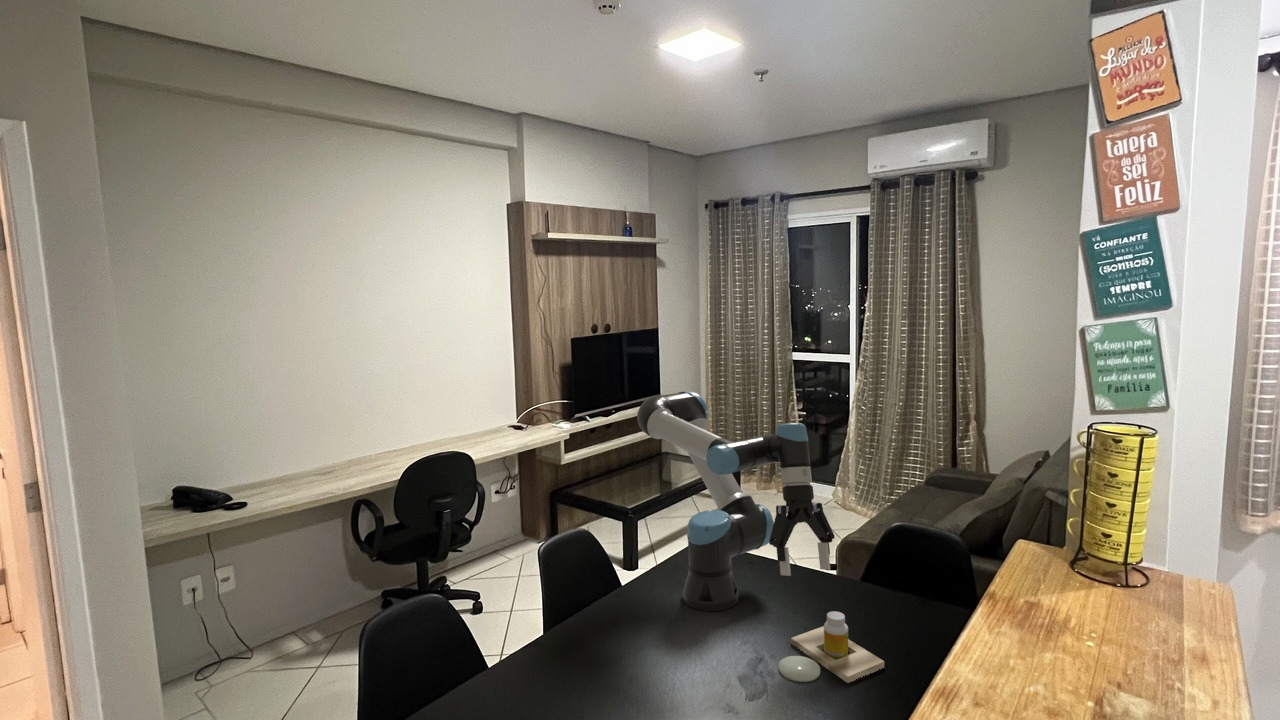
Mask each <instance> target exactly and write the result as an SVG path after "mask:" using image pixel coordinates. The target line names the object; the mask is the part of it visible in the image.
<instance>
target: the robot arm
mask: <svg viewBox="0 0 1280 720" xmlns="http://www.w3.org/2000/svg"><path fill="white" fill-rule="evenodd" d="M707 410H708V405H707V403H706V401H705V400H704V398H703V397H702V396H701V395H700V394H699V393H696V392H694V391H679V392H677V393H676V392H675V393H670V394H661V395H655V396H653V395H652V396H651V397H648V398H647V399H645V400H644V401H643V402H642V404H640V407H639V408H638V411H637V416H636V417H637V423H638V426H639V428H640V429H641V431H642V432H643V433H645V434H646V435H647V436H649V437H651V438H652V439H656V440H661V439H662V440H665V441H666V442H668V443H670V444H672V445H674V446H676V447H678V448H679V449H682V450H684V451H686V452H687V454H688V456H689V457H690V460H691V461H692V463H693V465H694V467H695V469H696V471H697V472H698V474H699V476H700V477H701V479H702V482H703V483H704V485H705V487H706V488H707V491H708V492H709V495H710V496H711V499H712V500H713V501H714V504H715V505H716V507H717V509H712V510H704V511H701V512H700V511H699V512H697V513H696V514H694V515H692V516H691V517H690V519H689V520H688V522H687V532H686V533H687V535H686V536H687V546H688V549H687V550H688V552H687V553H688V573H687V576H686V580H685V584H684V587H683V590H682V593H683V594H682V595H683V597H682V598H683V602H684V603H685V604H686V605H687V606H689V607H691V608H692V609H695V610H700V611H702V612H703V611H704V612H721V611H725V610H728V609H730V608H731V609H732V607H734V606H736V604H737V603H738V602H739V589H738V586H737V583H736V581H735V578H734V574H733V572H732V558H733V557H736V556H739V555H742V554H745V553H748V552H751V551H754V550H755V551H756V550H759V549H760V548H762V547H765V546H767V545H768V544H769V545H770V546H772V547H773V548H776V557H777V561H778V562H779V571H780V576H787V577H791V576H792V572H791V571H792V570H791V563H790V551H789V547H787V544H788V541H789V538H790V537H791V534H792V533H793V531H794V529H795V527H796V526H797V525H798V524H800V523H801V524H802V523H805V524H807V526H809V528H810V530H811V531H812V532H813V534H814V535H815V537H817V539H818V541H819V542H817V551H818V560H819V570H826V571H831V562H830V554H831V551H830V543H832V542H833V540H834V539H835V534H834V532H833V529H832V528H831V525H830V523H829V521H828V519H827V516H826V514H825V513H824V507H823V503H822V502H813V500H814V498H815V496H814V495H815V494H814V486H813V485H812V484H810V483H813V478H812V470H811V469H812V467H811V459H810V457H811V456H810V447H809V446H810V445H809V436H808V432H807V426H806V425H805V424H804V423H801V422H791V423H789V422H788V423H781V424H778V425H777V427H776V433H775V434H767V435H757V436H753V437H751V438H746V439H741V440H737V441H732V440H731V441H730V440H729V439H726V438H723V437H721V436H719V435H716V434H715V433H712V432H710V431H708V430H707V427H708V417H709V412H708V411H707ZM776 463H779V464H780V474H781V475H780V476H781V484H783V485H784V486H782V488H781V489H782V498H783V500H784V502H785V504H784V505H783V504H782V505H781V504H780V505H776V506H775V517H774V518H773V515H772V513H771V512H770V510H769V508H768V507H766V506H765V505H763V504H760V503H756V502H755V501H754V498H752V496H751V495H749V494H746V493H744V492H743V490H742V489H741V487H740V485H739V484H738V482H737V480H736V478H735V477H734V474H733V473H736V472H737V473H738V472H740V471H744V470H748V469H753V468H758V467H762V466H765V465H770V464H776Z"/></svg>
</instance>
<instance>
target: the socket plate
mask: <svg viewBox="0 0 1280 720" xmlns="http://www.w3.org/2000/svg"><path fill="white" fill-rule="evenodd" d="M790 643H791V645H792V646H794V647H795V648H796V647H797V648H796V649H798V650H799V649H800V650H799V651H801V652H802V651H803V654H805V655H806V656H808V658H809V657H810V659H812V660H813V661H815V662H816V663H817V664H819V663H820V665H821V666H822V667H824V668H826V669H827V670H828V671H830V673H833V674H834V675H835V676H836V677H838V678H840V679H841V680H842V681H844V682H845V683H847V684H849V683H852V682H854V681H857V680H859V679H861V678H863V676H864V677H866V676H869V675H870V673H871V674H873V673H876V672H877V671H880V670H883V669H884V668H885V661H884V660H883V659H881V658H880V657H878V656H876V655H875V654H874V653H871V651H868V650H866V649H865V648H864V647H862V646H860V645H858V644H856V642H854V641H852V640H851V639H849V638H848V652H849V653H848V656H845V657H843V658H840V659H838V660H835V659H833V658H832V657H830V656H829V655H827V654H826V653H824V625H823V626H820V627H818V628H814V629H812V630H808V631H807V632H804V633H801V634H798V635H796V636H792V637H790ZM882 668H883V669H882ZM879 669H880V670H879ZM865 675H866V676H865ZM860 677H861V678H860ZM858 678H859V679H858ZM856 679H857V680H856Z"/></svg>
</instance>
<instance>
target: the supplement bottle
mask: <svg viewBox="0 0 1280 720" xmlns="http://www.w3.org/2000/svg"><path fill="white" fill-rule="evenodd" d="M823 626H824V650H823V652H824V653H826V654H827V655H829V656H830V657H832V658H833V659H835V660H838V659H840V658H843V657H845V656H848V655H849V653H848V639H849V627H848V626H849V625H847V624H846V616H845V614H844V613H843V612H840V611H835V610H834V611H829V612H827V613H826V621H825V622H824V625H823Z"/></svg>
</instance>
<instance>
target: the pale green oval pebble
mask: <svg viewBox="0 0 1280 720" xmlns="http://www.w3.org/2000/svg"><path fill="white" fill-rule="evenodd" d="M778 671H779V673H780V675H782V676H783V677H784V678H786V679H787V680H789V681H794V682H798V683H808V682H814V681H815V680H817V679H818V678H819V677H820V676H821V666H820V665H819V663H818V662H817V661H815V660H814V659H812V658H809V657H807V656H801V655H790V656H786V657H783V658H782V659H780V661H779V663H778Z"/></svg>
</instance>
